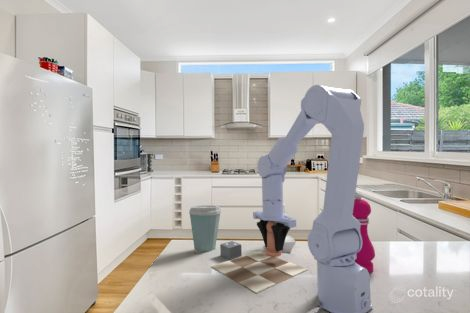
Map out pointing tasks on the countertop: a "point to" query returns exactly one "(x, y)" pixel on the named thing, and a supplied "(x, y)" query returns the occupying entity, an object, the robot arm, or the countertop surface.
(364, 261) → the pepper mill
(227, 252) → the die
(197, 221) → the disposable coffee cup
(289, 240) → the figurine
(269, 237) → the pawn
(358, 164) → the robot arm
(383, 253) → the countertop surface
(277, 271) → the board
